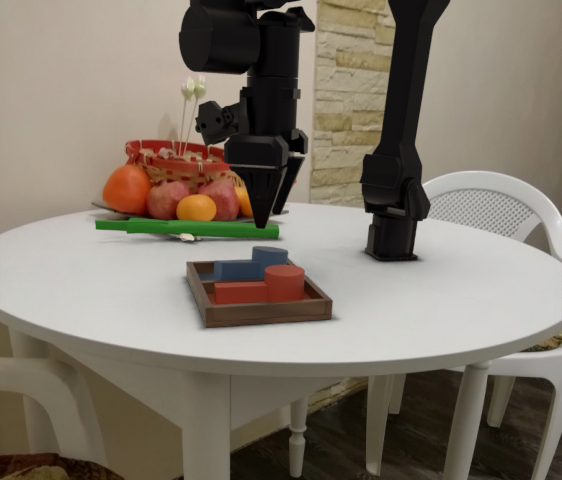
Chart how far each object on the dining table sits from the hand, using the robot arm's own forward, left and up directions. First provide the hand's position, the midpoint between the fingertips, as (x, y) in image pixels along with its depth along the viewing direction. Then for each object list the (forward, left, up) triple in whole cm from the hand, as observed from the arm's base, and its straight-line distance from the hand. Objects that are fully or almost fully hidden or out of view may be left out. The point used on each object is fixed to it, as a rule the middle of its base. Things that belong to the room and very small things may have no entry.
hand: (269, 220), depth 67 cm
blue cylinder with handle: (+3, +1, -7) cm, 7 cm away
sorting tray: (+3, +4, -8) cm, 10 cm away
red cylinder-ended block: (+3, +8, -7) cm, 11 cm away
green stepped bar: (+7, -25, -8) cm, 28 cm away
